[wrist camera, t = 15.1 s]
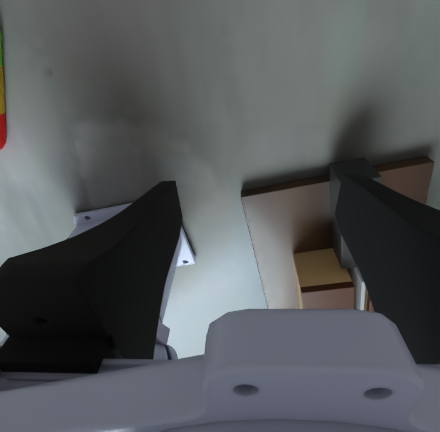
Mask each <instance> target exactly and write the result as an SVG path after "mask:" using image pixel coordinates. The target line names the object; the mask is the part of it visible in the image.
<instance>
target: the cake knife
mask: <svg viewBox="0 0 440 432" xmlns="http://www.w3.org/2000/svg"><path fill="white" fill-rule="evenodd" d="M345 173H360V174H362V175H365V176H367V177H369V178H371V179H373V180H375V181H377V182H379V183H381V175H380V174H379V173H378V172H377V171H376V170H375V169H374V168H373V166H372V165H371V164H370V163H369V162H368V161H367V160H366V159H365V158H364V157H361V158H356V159H351V160H346V161H341V162H336V163H331V164H329V175H330V215H331V245H332V247H333V250H334V252H335V255H336V257H337V259H338V262H339V264H340V267H341V269H344V268H347V271H348V273H349V275H350V277H351V280H352V282H353V284H354V287H355V289H354V309H359V310H364V302H365V289H366V286H365V283H364V281H363V278H362V276H361V274H360V271H359V269H358V267H357V265H356V263H355V261H354V259H353V257H352V255H351V253H350V251H349V249H348V247H347V245H346V243H345V241H344V239H343V237H342V235H341V233H340V230H339V227H338V223H337V220H336V216H335V209H336V205H337V200H338V195H339V190H340V185H341V180H342V175H343V174H345Z"/></svg>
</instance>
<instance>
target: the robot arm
mask: <svg viewBox="0 0 440 432" xmlns="http://www.w3.org/2000/svg"><path fill="white" fill-rule="evenodd" d="M87 216H89V217H90V218H89V217H87ZM335 216H336V220H337V223H338V227H339V230H340V233H341V235H342V237H343V239H344V241H345V243H346V245H347V247H348V249H349V251H350V253H351V255H352V257H353V259H354V261H355V263H356V265H357V267H358V269H359V271H360V274H361V276H362V278H363V281H364V283H365V286H366V289H367V291H368V294H369V297H370V300H371V303H372V306H373V309H374V312H371V311H365V310H359V309H245V310H239V311H233V312H228V313H226V314H224V315H223V316H221V317H220V318H218V319H217V320H215V321H213V322H212V323H210V325H209V329H208V332H207V336H206V344H205V354H203V355H198V356H192V357H187V358H181V359H178V357H177V354H176V351H175V350H174V348H172V347H171V346H169V345H167V341H168V336H169V332H170V329H169V328H168V327H166V326H165V325H163V324H162V322H163V318H164V314H165V310H166V306H167V302H168V298H169V294H170V290H171V286H172V282H173V278H174V274H175V270H176V266H183V265H190V264H194V263H195V256H194V254H193V252H192V249H191V247H190V244H189V242H188V240H187V237H186V235H185V232H184V230H183V228H182V213H181V208H180V202H179V197H178V192H177V187H176V182H175V181H162V182H160V183H159V184H157V185H156V186H154V187H153V188H152V189H151V190H149V191H148V192H147V193H145V194H144V195H143V196H142V197H140V198H139V199H138V200H136V201H135V202H133V203H128V204H123V205H118V206H113V207H108V208H103V209H98V210H92V211H87V212H82V213H77V214H75V215H74V216H73V221H74V222H75V223H76V225H77V227H76V228H75V229H74V231H73V232H72V233H71V234H70V236H69V237H68V238H67V239H66V240H64V241H61V242H59V243H56V244H53V245H50V246H48V247H45V248H42V249H38V250H35V251H32V252H28V253H25V254H22V255H18V256H15V257H11V258H8V259H7V260H6V261H5V262H4V263H3V265H2V266H1V267H0V327H1V328H2V329H3V330H4V331H5V332H6V333H7V335H6V336H5V337H4V339H3V340H2V341H1V343H0V432H440V210H437V209H434V208H432V207H429V206H427V205H424V204H422V203H420V202H418V201H415V200H413V199H411V198H409V197H407V196H405V195H402V194H400V193H398V192H396V191H394V190H392V189H390V188H388V187H387V186H385V185H383V184H381V183H379V182H377V181H375V180H373V179H371V178H369V177H367V176H365V175H362V174H360V173H345V174H343V175H342V180H341V185H340V190H339V195H338V200H337V205H336V209H335ZM185 260H187V261H185Z"/></svg>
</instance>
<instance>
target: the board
mask: <svg viewBox="0 0 440 432" xmlns="http://www.w3.org/2000/svg"><path fill="white" fill-rule="evenodd" d="M433 165H434V161H432V160H431V159H430V158H428V157H427V156H425V157H420V158H415V159H409V160H404V161H399V162H393V163H388V164H383V165H377V166H373V168H374V169H375V170H376V171H377V172H378V173H379V174H380V175H381V184H383V185H385V186H387V187H388V188H390V189H392V190H394V191H396V192H398V193H400V194H402V195H405V196H407V197H409V198H411V199H413V200H415V201H418V202H420V203H422V204H424V205H425V203H426V198H427V193H428V189H429V184H430V179H431V175H432V170H433ZM241 199H242V204H243V208H244V212H245V216H246V220H247V224H248V228H249V232H250V236H251V240H252V245H253V249H254V253H255V257H256V261H257V265H258V269H259V273H260V277H261V281H262V286H263V290H264V294H265V298H266V302H267V306H268V309H300V306H299V299H298V292H297V284H296V277H295V269H294V262H293V255H292V254H294V253H301V252H308V251H315V250H323V249H330V248H333V247H332V245H331V215H330V175H324V176H319V177H314V178H308V179H303V180H298V181H292V182H287V183H282V184H276V185H271V186H266V187H260V188H255V189H250V190H245V191H241Z"/></svg>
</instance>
